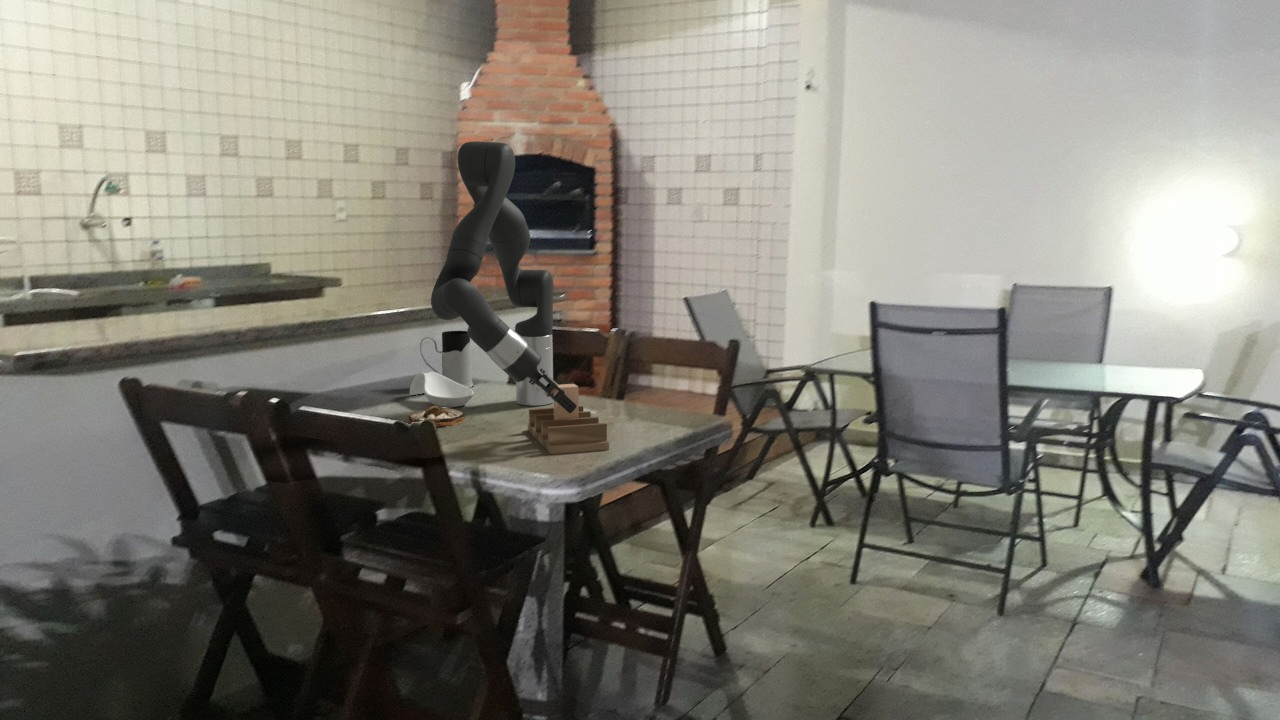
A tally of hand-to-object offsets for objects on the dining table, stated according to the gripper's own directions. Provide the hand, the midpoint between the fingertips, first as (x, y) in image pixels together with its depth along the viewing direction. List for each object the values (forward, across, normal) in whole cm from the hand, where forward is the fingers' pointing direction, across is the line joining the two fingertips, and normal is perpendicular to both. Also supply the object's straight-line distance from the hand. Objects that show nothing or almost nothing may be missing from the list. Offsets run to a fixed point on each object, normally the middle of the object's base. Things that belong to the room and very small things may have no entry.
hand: (568, 405), depth 197 cm
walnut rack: (+5, 0, +5) cm, 7 cm away
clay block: (+4, 0, +4) cm, 6 cm away
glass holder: (-6, +69, +17) cm, 71 cm away
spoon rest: (-10, +49, +20) cm, 54 cm away
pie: (-12, +26, +23) cm, 37 cm away
